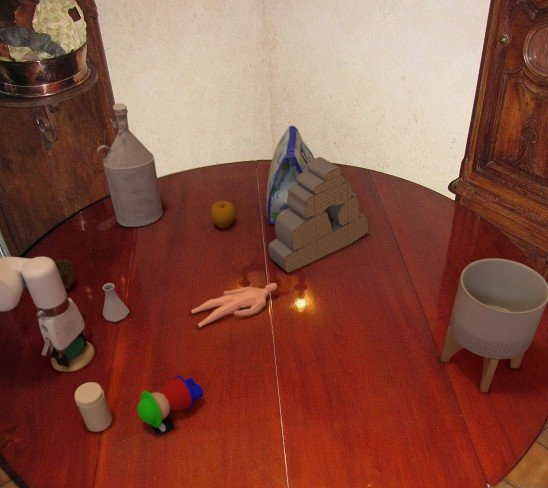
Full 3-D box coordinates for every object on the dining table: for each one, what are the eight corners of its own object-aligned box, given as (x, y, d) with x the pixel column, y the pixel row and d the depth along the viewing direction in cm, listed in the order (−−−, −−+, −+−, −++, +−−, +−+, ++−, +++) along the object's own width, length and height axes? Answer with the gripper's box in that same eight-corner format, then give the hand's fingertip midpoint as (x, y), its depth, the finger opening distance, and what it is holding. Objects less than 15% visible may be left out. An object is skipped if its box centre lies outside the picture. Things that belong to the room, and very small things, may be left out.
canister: (110, 215, 196) (82, 104, 170) (158, 202, 202) (137, 93, 175) (119, 233, 188) (91, 120, 161) (168, 219, 193) (148, 108, 167)
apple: (227, 235, 185) (225, 213, 179) (206, 228, 189) (203, 206, 183) (241, 222, 191) (239, 200, 185) (220, 216, 194) (218, 194, 188)
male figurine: (187, 300, 156) (268, 270, 162) (190, 312, 160) (270, 283, 166) (198, 324, 149) (283, 292, 155) (202, 337, 152) (285, 305, 158)
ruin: (347, 219, 189) (346, 138, 168) (368, 233, 183) (370, 151, 162) (266, 262, 177) (255, 181, 156) (286, 279, 171) (276, 197, 150)
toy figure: (186, 394, 139) (131, 419, 130) (184, 363, 134) (127, 387, 126) (206, 413, 133) (150, 441, 125) (206, 382, 128) (147, 409, 120)
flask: (115, 326, 154) (106, 298, 148) (98, 315, 158) (89, 288, 151) (134, 311, 159) (127, 284, 152) (117, 301, 162) (110, 274, 155)
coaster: (47, 374, 142) (47, 373, 141) (55, 343, 150) (54, 342, 150) (92, 369, 143) (91, 368, 142) (96, 339, 151) (96, 337, 150)
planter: (443, 388, 135) (465, 309, 118) (437, 333, 149) (456, 255, 132) (524, 395, 133) (559, 316, 116) (511, 339, 147) (540, 260, 129)
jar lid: (87, 338, 147) (85, 333, 146) (83, 358, 142) (81, 353, 141) (59, 341, 147) (57, 336, 146) (54, 361, 142) (52, 356, 140)
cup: (49, 295, 165) (41, 274, 159) (57, 279, 170) (50, 258, 165) (74, 295, 164) (67, 274, 159) (82, 279, 170) (75, 258, 165)
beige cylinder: (83, 433, 128) (71, 404, 121) (87, 411, 133) (75, 383, 126) (111, 430, 129) (100, 401, 122) (113, 408, 133) (103, 379, 126)
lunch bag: (315, 226, 188) (317, 155, 171) (265, 226, 189) (262, 155, 171) (314, 192, 205) (316, 123, 187) (269, 191, 205) (266, 124, 188)
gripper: (41, 332, 127) (63, 382, 139) (87, 285, 139) (104, 336, 151) (15, 323, 129) (39, 374, 141) (63, 279, 141) (82, 329, 153)
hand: (72, 354), depth 146 cm, fingers closed on jar lid, 7 cm apart
